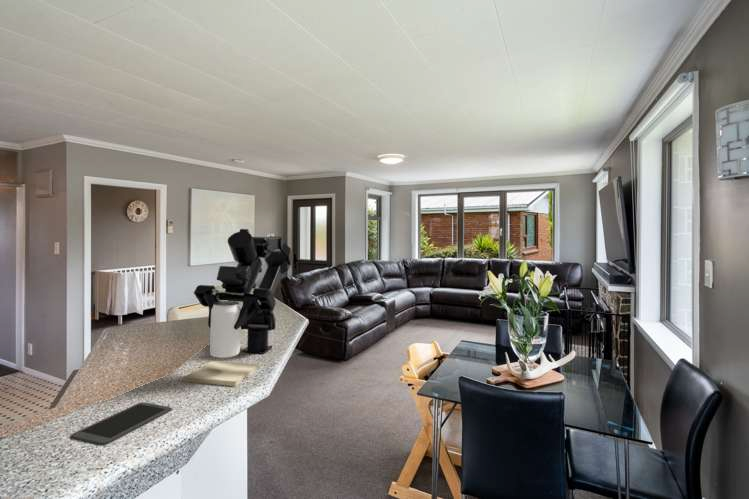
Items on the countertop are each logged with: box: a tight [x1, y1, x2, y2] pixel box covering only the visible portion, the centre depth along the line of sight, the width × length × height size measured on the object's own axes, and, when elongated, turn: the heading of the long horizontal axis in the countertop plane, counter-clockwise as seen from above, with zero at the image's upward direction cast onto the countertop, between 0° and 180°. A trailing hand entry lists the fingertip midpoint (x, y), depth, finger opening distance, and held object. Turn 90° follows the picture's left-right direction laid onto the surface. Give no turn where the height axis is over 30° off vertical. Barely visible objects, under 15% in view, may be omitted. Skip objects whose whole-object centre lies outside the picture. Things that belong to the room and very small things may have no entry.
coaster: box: [183, 360, 260, 387], centre depth 92 cm, size 12×12×1 cm
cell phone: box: [70, 402, 173, 446], centre depth 68 cm, size 7×14×1 cm, turn 164°
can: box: [209, 300, 241, 359], centre depth 92 cm, size 6×6×12 cm
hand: (222, 327), depth 91 cm, fingers closed on can, 6 cm apart
